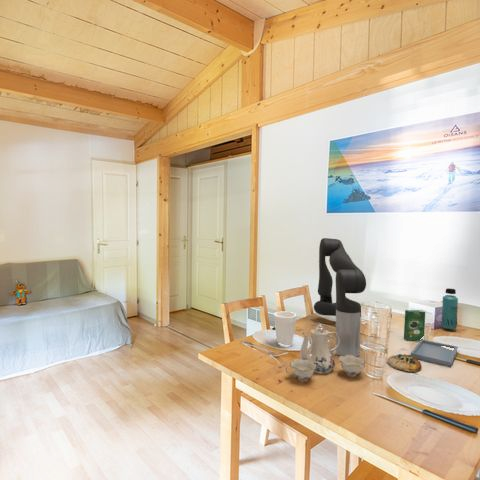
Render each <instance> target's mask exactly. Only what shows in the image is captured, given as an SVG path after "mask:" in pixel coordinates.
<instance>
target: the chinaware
mask: <svg viewBox="0 0 480 480" xmlns="http://www.w3.org/2000/svg"><path fill="white" fill-rule="evenodd" d="M310 333H311V344H310V347H309V346H308V344H309V337H308V335H307V333H305V332H301V334H302V336H303V341H302V344H301V347H300V349H299V358H295V359H294V360H293V361H290V362H289V364H287V366H286V368H285V373H287V374H288V375H293V377H294V378H298V379H297V381H300V382H302V383H304V382H308V381H309V379H310V378H311V377H312V376H313V374H318V375H319V374H320V375H325V374H330V373H331V372H332V370H333V368H335V366H336V361H335V359H334V357H333V356H334V355H336V350H335V349H337V348H338V347H339V345H340V342H341V339H340V336H339V335H338V334H337V333H336V331H335V332H334V331H330V330H328V329H325V328H324V327H323V325H322V324H321V323H319V324H318V325H317V327H315V328H312V329H310ZM332 335H335V336H336V335H337V336H338V344H337V346H336V345H335V346H334V347H332V348H329V342H328V340H329V339H331V338H332ZM308 347H309V350H308ZM338 360H339V363H340V366H341V368H342V370H343V371H344V372H345V374H346V375H347V376H348V377H354V378H356V376H357V374H358V375H359V373H361V371H362V370H363V369H364V368H365V367H366V362H365V360H364V358H363V357H360V356H357V357H355V356H353V355H346V356H340V355H338ZM288 367H289V368H292V372H291V373H290V372H288V370H287V369H288Z"/></svg>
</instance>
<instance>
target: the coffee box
mask: <svg viewBox="0 0 480 480" xmlns="http://www.w3.org/2000/svg"><path fill="white" fill-rule="evenodd" d="M425 323H426V311H425V310H422V309H409V310H408V309H405V311H404V323H403V324H404V325H403V326H404V327H403V328H404V329H403V339H404V340H405V341H407V342H408V341H411V342H412V341H419V340H420V339H421V338H422V337H423V336H424V337H425V328H426V327H425V325H426V324H425Z"/></svg>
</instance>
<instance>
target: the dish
mask: <svg viewBox="0 0 480 480" xmlns="http://www.w3.org/2000/svg"><path fill="white" fill-rule="evenodd" d="M441 346H446V347H450V348H454V350H453V351H452V350H449V349H446V348H443V347H441ZM457 349H459V347H458V346H457V345H453V344H452V345H451V344H446V343H441V342H438V341H433V340H426V339H424V340H423V339H421V340H420V341H419V342H418V343H417V344H416V345H415V347H414V348H413V350H411V352H410V355H411V356H415V357H416V359H417V360H419V361H420V362H425V363H430V364H434V365H438V366H443V367H446V368H450V369H451V367H452V366H453V363H454V362H455V358H456V356H457V354H458V352H457Z"/></svg>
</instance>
